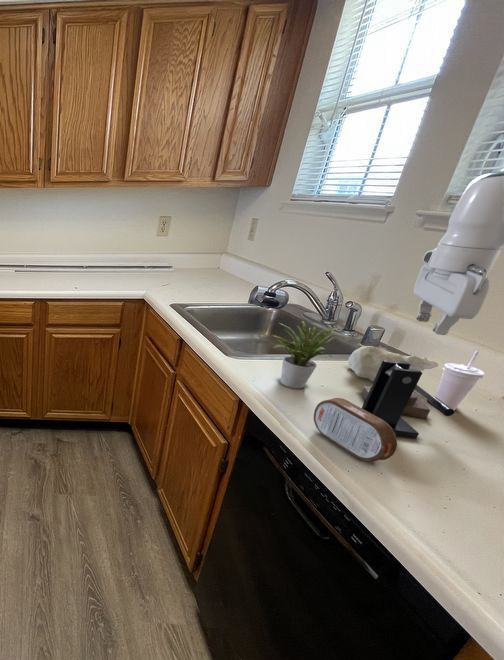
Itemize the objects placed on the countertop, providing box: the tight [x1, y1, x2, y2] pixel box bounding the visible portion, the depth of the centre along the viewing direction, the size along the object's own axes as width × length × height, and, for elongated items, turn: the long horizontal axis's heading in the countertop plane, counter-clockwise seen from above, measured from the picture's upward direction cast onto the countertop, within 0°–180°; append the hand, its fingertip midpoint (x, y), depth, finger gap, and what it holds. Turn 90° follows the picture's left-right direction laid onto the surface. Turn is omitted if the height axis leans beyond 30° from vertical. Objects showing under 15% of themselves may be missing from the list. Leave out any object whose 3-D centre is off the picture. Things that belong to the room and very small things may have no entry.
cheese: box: [347, 345, 440, 383], centre depth 108 cm, size 15×7×15 cm
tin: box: [313, 397, 398, 462], centre depth 80 cm, size 15×3×8 cm, turn 10°
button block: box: [360, 385, 431, 419], centre depth 96 cm, size 10×8×4 cm
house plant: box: [270, 320, 340, 389], centre depth 104 cm, size 14×14×16 cm
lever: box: [385, 364, 455, 417], centre depth 84 cm, size 13×6×2 cm
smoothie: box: [435, 350, 485, 411], centre depth 94 cm, size 6×6×14 cm
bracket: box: [361, 360, 423, 439], centre depth 86 cm, size 11×8×14 cm
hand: (429, 327), depth 88 cm, fingers open, 8 cm apart
